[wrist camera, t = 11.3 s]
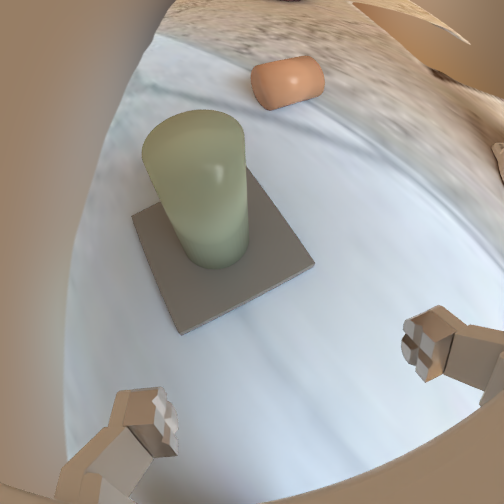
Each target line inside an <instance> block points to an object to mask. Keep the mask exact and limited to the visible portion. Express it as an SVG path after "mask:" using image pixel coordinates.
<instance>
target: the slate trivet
mask: <svg viewBox="0 0 504 504" xmlns="http://www.w3.org/2000/svg"><path fill="white" fill-rule="evenodd" d="M246 181H247V201H248V221H249V244H248V248H247V250H246V252H245V253H244V255H243V256H242V257H241V258H240V259H239V260H238V261H237V262H236V263H234V264H232V265H231V266H228V267H226V268H222V269H206V268H202V267H200V266H198V265H196V264H195V263H193V262H192V261H191V260H190V259H189V258H188V256H187V255H186V253H185V251H184V249H183V247H182V245H181V243H180V241H179V239H178V237H177V235H176V233H175V230H174V228H173V226H172V224H171V222H170V220H169V218H168V216H167V214H166V211H165V209H164V207H163V205H162V203H161V202H159V203H157V204H155V205H153V206H151V207H149V208H147V209H145V210H143V211H141V212H139V213H137V214H135V215H133V216H132V219H133V222H134V225H135V228H136V231H137V233H138V236H139V239H140V242H141V244H142V247H143V250H144V252H145V255H146V257H147V260H148V262H149V265H150V268H151V270H152V273H153V275H154V277H155V280H156V282H157V285H158V287H159V290H160V292H161V294H162V297H163V299H164V301H165V304H166V306H167V308H168V310H169V313H170V315H171V317H172V319H173V322H174V324H175V326H176V328H177V330H178V332H179V334H180V335H184V334H186V333H188V332H190V331H192V330H194V329H196V328H198V327H200V326H202V325H204V324H206V323H208V322H210V321H212V320H214V319H216V318H218V317H220V316H222V315H224V314H226V313H228V312H230V311H232V310H234V309H236V308H237V307H239V306H241V305H243V304H245V303H247V302H249V301H251V300H253V299H255V298H257V297H259V296H260V295H262V294H264V293H266V292H268V291H270V290H272V289H274V288H275V287H277V286H279V285H281V284H283V283H285V282H287V281H288V280H290V279H292V278H294V277H296V276H298V275H299V274H301V273H303V272H305V271H307V270H308V269H310V268H312V267H313V266H314V264H315V262H314V261H313V259H312V258H311V256H310V255H309V253H308V252H307V250H306V249H305V247H304V246H303V245H302V243H301V242H300V240H299V239H298V237H297V236H296V234H295V233H294V232H293V230H292V229H291V227H290V226H289V224H288V223H287V222H286V220H285V219H284V217H283V216H282V215H281V213H280V212H279V210H278V209H277V208H276V206H275V205H274V203H273V202H272V201H271V199H270V198H269V196H268V195H267V194H266V192H265V191H264V190H263V188H262V187H261V185H260V184H259V183H258V181H257V180H256V179H255V177H254V176H253V175H252V173H251V172H250V171H249V169H248V168H247V166H246Z"/></svg>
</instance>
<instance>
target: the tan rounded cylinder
mask: <svg viewBox="0 0 504 504" xmlns="http://www.w3.org/2000/svg"><path fill="white" fill-rule="evenodd" d="M251 84H252V89H253V92H254V94H255V96H256V98H257V100H258V102H259V103H260V104H261V105H262V106H263V107H264V108H265V109H267V110H274V109H277V108H281V107H284V106H287V105H290V104H294V103H297V102H301V101H304V100H308V99H311V98H315V97H318V96H320V95H321V94H322V92H323V90H324V85H325V80H324V75H323V72H322V69H321V67H320V66H319V64H318V63H317V62H316V61H315V60H314V59H313V58H312V57H310V56H299V57H294V58H289V59H284V60H279V61H274V62H270V63H265V64H261V65H257V66H255V67H254V68H253V69H252V72H251Z"/></svg>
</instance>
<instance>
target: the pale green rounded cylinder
mask: <svg viewBox="0 0 504 504" xmlns="http://www.w3.org/2000/svg"><path fill="white" fill-rule="evenodd" d="M142 160H143V163H144V165H145V167H146V169H147V172H148V174H149V176H150V179H151V181H152V183H153V185H154V188H155V190H156V192H157V194H158V196H159V199H160V201H161V203H162V205H163V207H164V209H165V211H166V214H167V216H168V218H169V220H170V222H171V224H172V226H173V228H174V230H175V233H176V235H177V237H178V239H179V241H180V243H181V245H182V247H183V249H184V251H185V253H186V255H187V256H188V258H189V259H190V260H191V261H192V262H193V263H195V264H196V265H198V266H200V267H202V268H206V269H222V268H226V267H228V266H231V265H232V264H234V263H236V262H237V261H238V260H239V259H240V258H241V257H242V256H243V255H244V253H245V252H246V250H247V248H248V244H249V221H248V201H247V181H246V161H245V141H244V132H243V129H242V127H241V125H240V124H239V122H238V121H237V120H236V119H234V118H233V117H231V116H229V115H228V114H225V113H223V112H219V111H214V110H192V111H187V112H183V113H180V114H177V115H175V116H172V117H170V118H168V119H166V120H165V121H163V122H162V123H160V124H159V125H158V126H156V127H155V128H154V129H153V130H152V131H151V132H150V133H149V135H148V136H147V138H146V139H145V141H144V144H143V147H142Z"/></svg>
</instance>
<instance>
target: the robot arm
mask: <svg viewBox="0 0 504 504" xmlns="http://www.w3.org/2000/svg"><path fill="white" fill-rule="evenodd" d="M492 151H493V153H494V155H495V157H496V158H497V161H498V166H499V171H500V174H501V177H502V179H503V181H504V142H502V143H494V145H493V146H492ZM403 331H404V332H405V333H406V334H405V335H404V337H403V338H402V341H401V350H402V354H403V356H404V358H405V360H406V361H407V362H408V363H409V364H411V365H414V366H416V368H415V372H416V373H417V374H418V375H419V376H420V377H421V379H422V380H423V381H424V382H425V383H426V382H428V381H430V380H432V379H434V378H436V377H438V376H440V375H442V374H444V375H446V376H448V377H451V378H453V379H455V380H458V381H460V382H463V383H465V384H468V385H470V386H472V387H475V388H477V389H480V390H482V391H484V393H483V395H482V397H481V399H480V403H479V405H480V406H481V407H480V408H479V409H478V410H476V411H475V412H473V413H472V414H471V415H469V416H468V417H466V418H465V419H463V420H462V421H461V422H459V423H458V424H456V425H455V426H453V427H451V428H450V429H448V430H447V431H445V432H443V433H442V434H440V435H439V436H437V437H435V438H434V439H432V440H430V441H428V442H427V443H425V444H423V445H421V446H419V447H418V448H416V449H414V450H412V451H410V452H408V453H406V454H404V455H402V456H400V457H398V458H396V459H394V460H392V461H390V462H388V463H385V464H383V465H381V466H379V467H376V468H374V469H372V470H369V471H367V472H365V473H362V474H360V475H357V476H354V477H352V478H349V479H346V480H344V481H341V482H338V483H335V484H332V485H329V486H326V487H323V488H320V489H316V490H313V491H309V492H306V493H302V494H298V495H295V496H291V497H286V498H282V499H278V500H273V501H268V502H263V503H258V504H504V331H500V330H495V329H490V328H485V327H480V326H475V325H468V326H467V325H466V324H464V323H463V322H462V321H461V320H459V319H458V318H457V317H456V316H454V315H453V314H452V313H450V312H449V311H448V310H447V309H445V308H444V307H443V306H440V305H437V306H435V307H433V308H431V309H429V310H427V311H425V312H423V313H420V314H418V315H416V316H413V317H411V318H409V319H406V320H405V322H404V324H403ZM178 429H179V422H178V416H177V412H176V410H175V407H174V406H173V404H172V403H171V402H169V401H167V393H166V392H165V390H164V388H163V387H151V388H141V389H133V390H121V391H119V392H118V393H117V394H116V398H115V402H114V405H113V409H112V413H111V416H110V420H109V424H108V427H104V428H103V429H102V430H101V431H100V432H99V433H98V434H97V435H96V436H95V437H94V438H92V439H91V440H90V441H89V442H88V443H87V444H86V445H85V446H84V447H83V448H82V449H81V450H80V451H79V452H78V453H77V454H76V455H75V456H74V457H73V458H72V459H71V460H70V461H69V462H68V463H67V464H66V465H65V466H64V467H62V469H61V472H60V476H59V479H58V483H57V487H56V491H55V495H54V499H52V498H48V497H44V496H40V495H37V494H34V493H30V492H27V491H24V490H21V489H18V488H15V487H12V486H9V485H6V484H4V483H1V482H0V504H137V503H136V502H134V501H133V500H131V499H130V498H129V496H130V494H131V493H132V491H133V490H134V488H135V487H136V485H137V484H138V482H139V481H140V479H141V478H142V476H143V475H144V473H145V472H146V470H147V469H148V467H149V466H150V464H151V463H152V461H153V460H154V459H153V458H159V457H170V456H178V439H177V437H176V436H175V433H176V432H177V430H178Z"/></svg>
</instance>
